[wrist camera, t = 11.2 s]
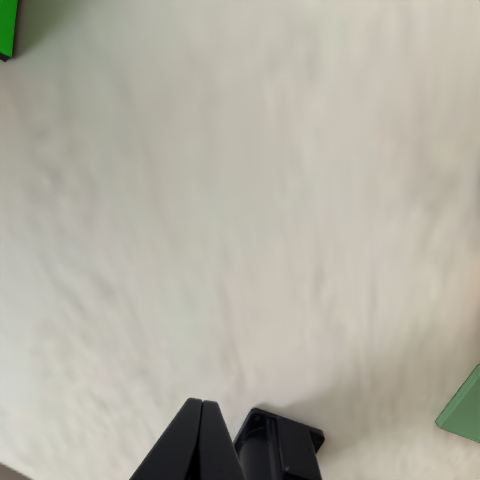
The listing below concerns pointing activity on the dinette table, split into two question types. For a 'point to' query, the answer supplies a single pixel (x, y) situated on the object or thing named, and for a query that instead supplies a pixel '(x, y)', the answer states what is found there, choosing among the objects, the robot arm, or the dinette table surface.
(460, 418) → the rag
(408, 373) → the dinette table surface
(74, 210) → the dinette table surface
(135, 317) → the dinette table surface
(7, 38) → the puzzle cube
